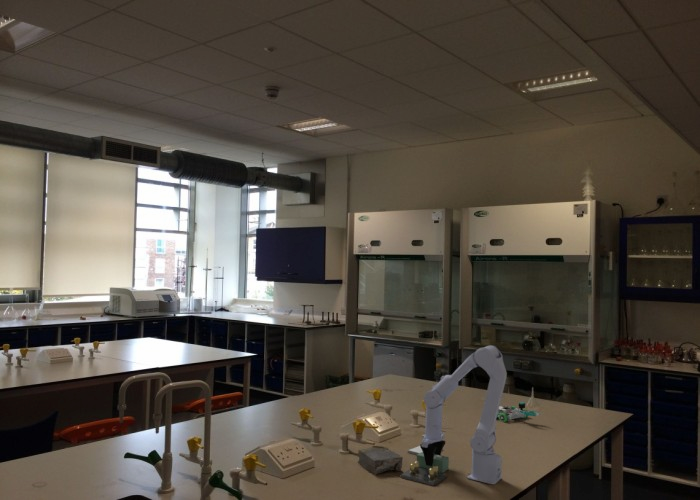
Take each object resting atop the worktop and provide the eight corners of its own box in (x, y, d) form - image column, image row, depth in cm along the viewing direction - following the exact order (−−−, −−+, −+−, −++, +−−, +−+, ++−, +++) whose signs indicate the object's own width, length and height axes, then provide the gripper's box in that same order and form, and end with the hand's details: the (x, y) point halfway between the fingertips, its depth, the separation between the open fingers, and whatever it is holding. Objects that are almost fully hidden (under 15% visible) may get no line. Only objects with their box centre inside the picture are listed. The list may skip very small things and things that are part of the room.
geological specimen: (376, 461, 191) (355, 446, 205) (375, 479, 191) (355, 463, 205) (403, 456, 196) (381, 442, 209) (402, 474, 196) (380, 458, 210)
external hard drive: (407, 454, 217) (424, 447, 227) (425, 459, 212) (442, 451, 221) (407, 449, 217) (424, 442, 227) (426, 454, 212) (442, 447, 221)
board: (448, 468, 201) (448, 455, 201) (442, 472, 196) (442, 459, 197) (422, 462, 206) (423, 449, 206) (416, 466, 202) (416, 453, 202)
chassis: (446, 477, 192) (446, 465, 192) (433, 485, 184) (433, 473, 184) (414, 469, 198) (414, 457, 199) (400, 477, 190) (401, 465, 190)
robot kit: (526, 429, 257) (527, 408, 257) (482, 417, 277) (483, 397, 277) (550, 424, 268) (551, 404, 268) (507, 412, 288) (507, 394, 288)
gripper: (432, 418, 210) (431, 455, 210) (414, 426, 198) (412, 466, 197) (449, 421, 206) (448, 459, 206) (432, 430, 194) (431, 470, 194)
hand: (432, 463), depth 201 cm, fingers closed on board, 5 cm apart
